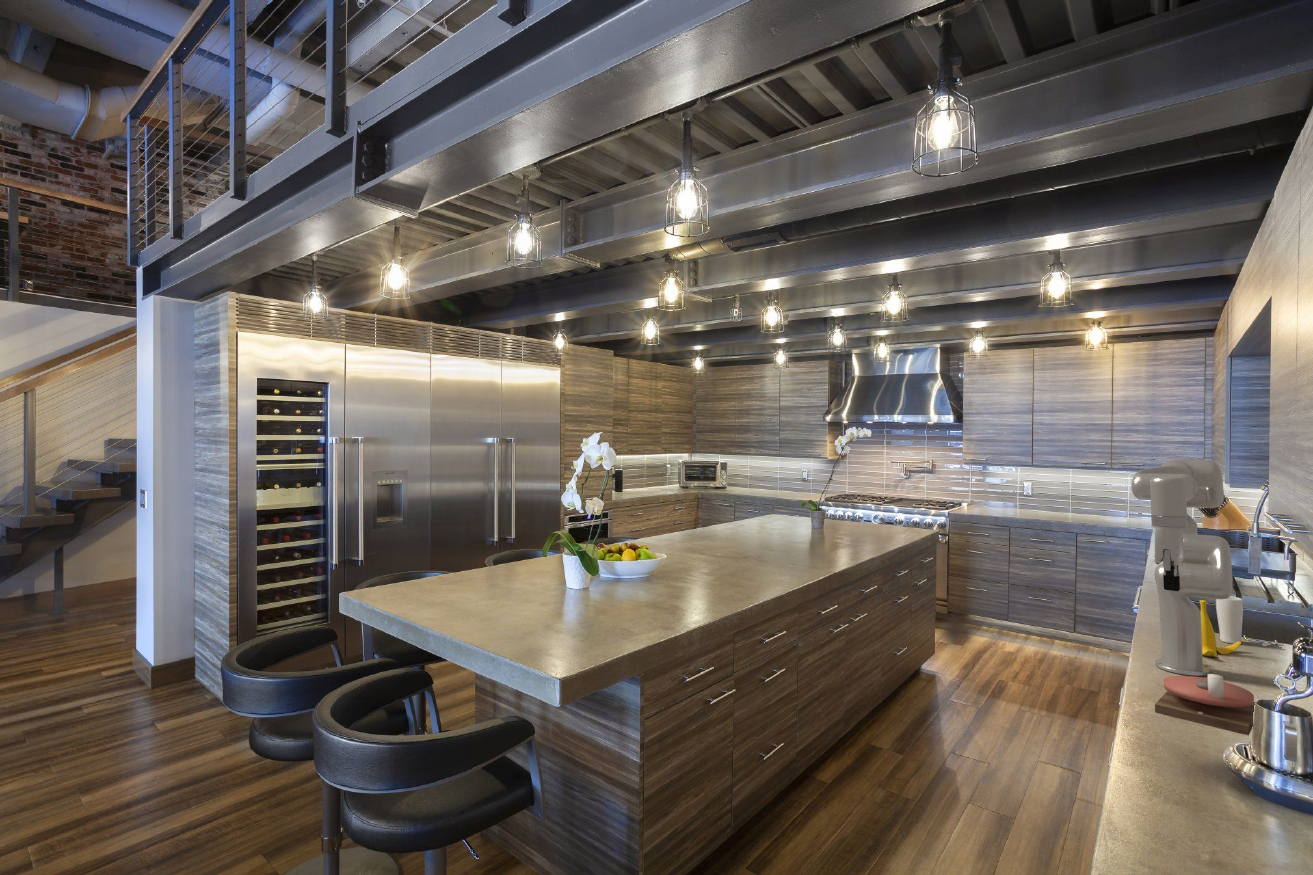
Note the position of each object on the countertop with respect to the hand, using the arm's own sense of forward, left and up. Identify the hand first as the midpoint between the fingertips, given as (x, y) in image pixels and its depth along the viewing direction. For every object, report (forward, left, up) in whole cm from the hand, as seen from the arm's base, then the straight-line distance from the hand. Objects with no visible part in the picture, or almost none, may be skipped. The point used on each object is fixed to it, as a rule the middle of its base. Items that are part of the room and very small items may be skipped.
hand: (1171, 589), depth 168 cm
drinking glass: (-72, +2, -28) cm, 77 cm away
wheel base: (+7, +8, -28) cm, 30 cm away
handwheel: (+7, +8, -24) cm, 26 cm away
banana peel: (-51, -1, -29) cm, 58 cm away
